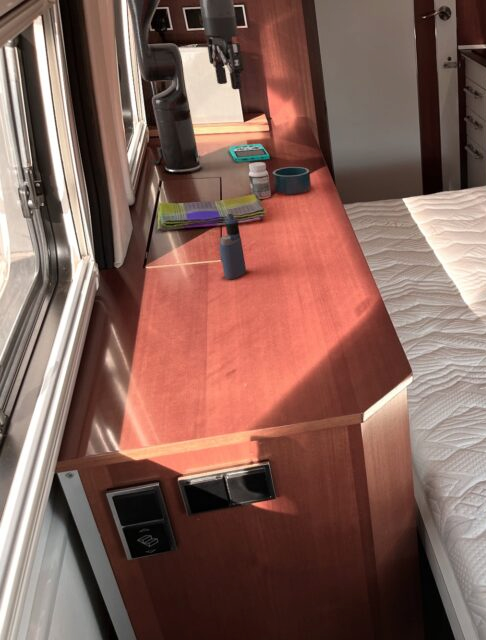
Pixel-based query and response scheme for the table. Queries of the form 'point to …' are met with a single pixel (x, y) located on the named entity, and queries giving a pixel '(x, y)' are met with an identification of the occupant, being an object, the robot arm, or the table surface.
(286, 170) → the bowl
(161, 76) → the robot arm
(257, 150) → the handheld game console
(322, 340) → the table surface
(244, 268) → the vaping device
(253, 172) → the pill bottle
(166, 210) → the dish towel
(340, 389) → the table surface
